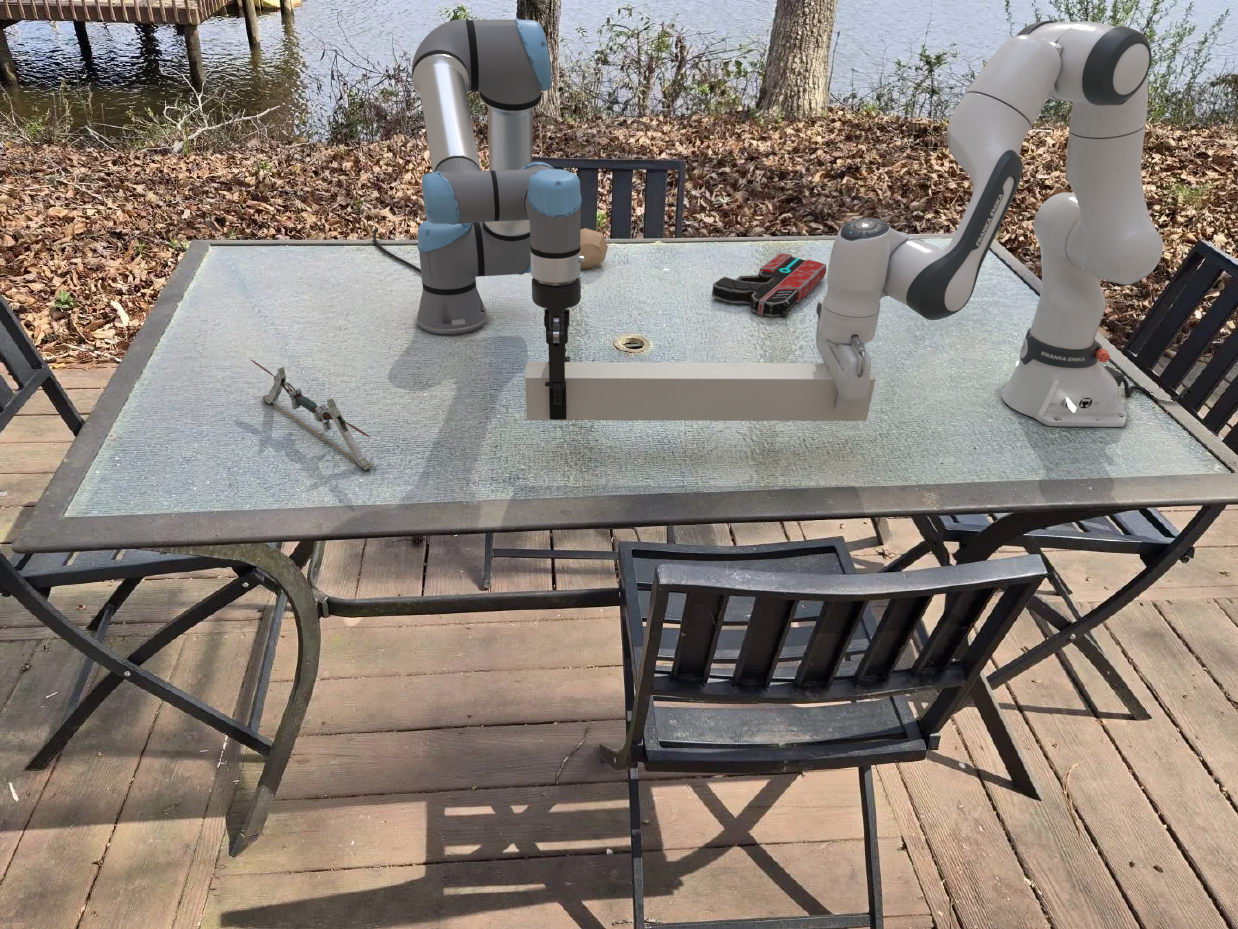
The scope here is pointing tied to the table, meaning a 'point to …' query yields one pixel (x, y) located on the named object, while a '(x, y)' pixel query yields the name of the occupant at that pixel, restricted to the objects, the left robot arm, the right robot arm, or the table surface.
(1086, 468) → the table surface
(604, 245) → the squash
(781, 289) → the gun
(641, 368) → the post
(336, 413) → the bow
